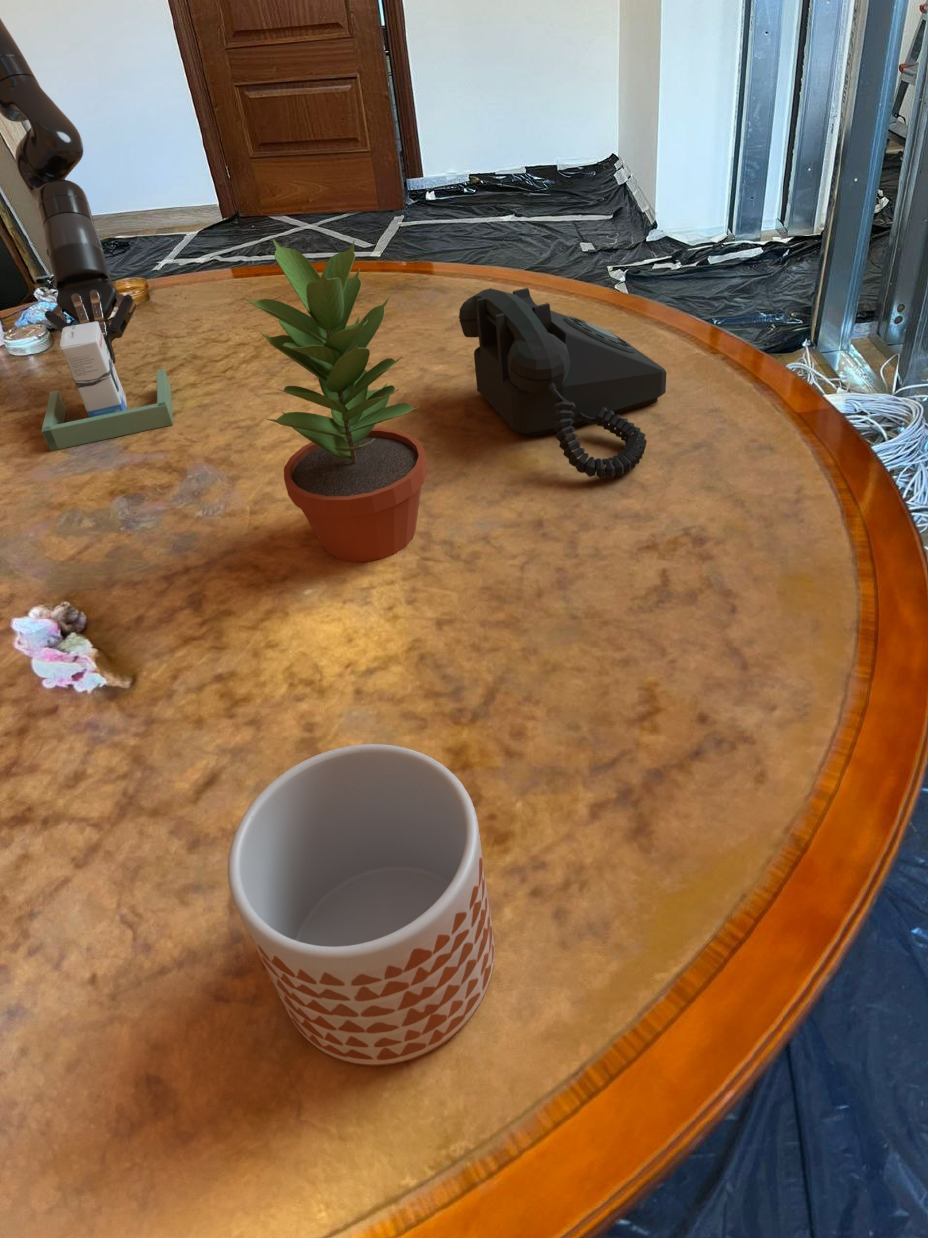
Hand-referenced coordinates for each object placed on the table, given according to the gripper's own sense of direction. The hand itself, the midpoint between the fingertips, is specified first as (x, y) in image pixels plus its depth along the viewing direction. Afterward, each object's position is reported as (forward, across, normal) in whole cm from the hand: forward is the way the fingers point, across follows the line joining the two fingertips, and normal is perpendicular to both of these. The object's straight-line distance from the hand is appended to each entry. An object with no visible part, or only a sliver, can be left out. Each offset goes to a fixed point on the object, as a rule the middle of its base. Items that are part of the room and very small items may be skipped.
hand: (106, 366), depth 123 cm
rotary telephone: (+30, -58, +22) cm, 69 cm away
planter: (+74, -18, +67) cm, 101 cm away
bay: (+8, +1, +1) cm, 8 cm away
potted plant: (+40, -28, +33) cm, 59 cm away
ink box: (+7, +1, 0) cm, 7 cm away
